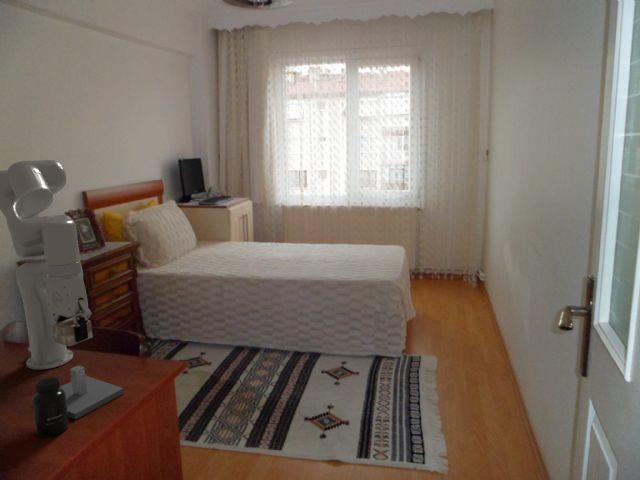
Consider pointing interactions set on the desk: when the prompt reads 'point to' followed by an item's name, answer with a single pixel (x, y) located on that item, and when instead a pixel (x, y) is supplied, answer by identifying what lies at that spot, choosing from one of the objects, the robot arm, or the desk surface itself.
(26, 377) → the desk surface
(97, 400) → the hub plate
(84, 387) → the steel post
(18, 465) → the desk surface
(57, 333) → the beige block with hole
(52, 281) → the robot arm
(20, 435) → the desk surface
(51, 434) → the supplement bottle
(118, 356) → the desk surface
